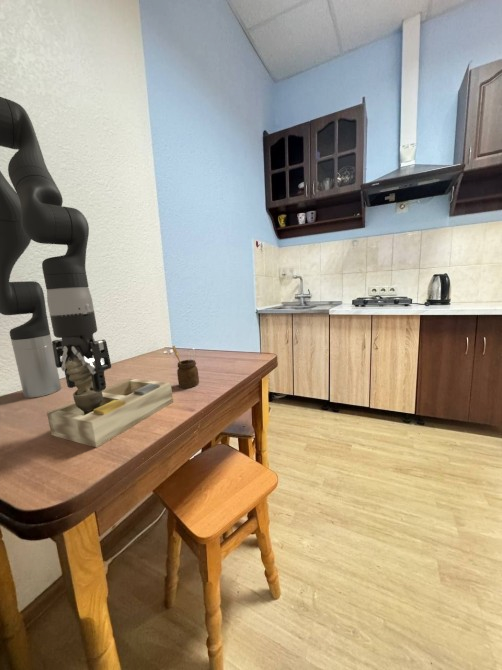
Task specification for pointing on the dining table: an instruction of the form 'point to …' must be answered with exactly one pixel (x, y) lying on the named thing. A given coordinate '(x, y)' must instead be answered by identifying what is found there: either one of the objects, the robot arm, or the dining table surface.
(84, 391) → the light bulb
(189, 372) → the utensil holder
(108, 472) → the dining table surface
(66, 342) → the robot arm
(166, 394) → the socket block
